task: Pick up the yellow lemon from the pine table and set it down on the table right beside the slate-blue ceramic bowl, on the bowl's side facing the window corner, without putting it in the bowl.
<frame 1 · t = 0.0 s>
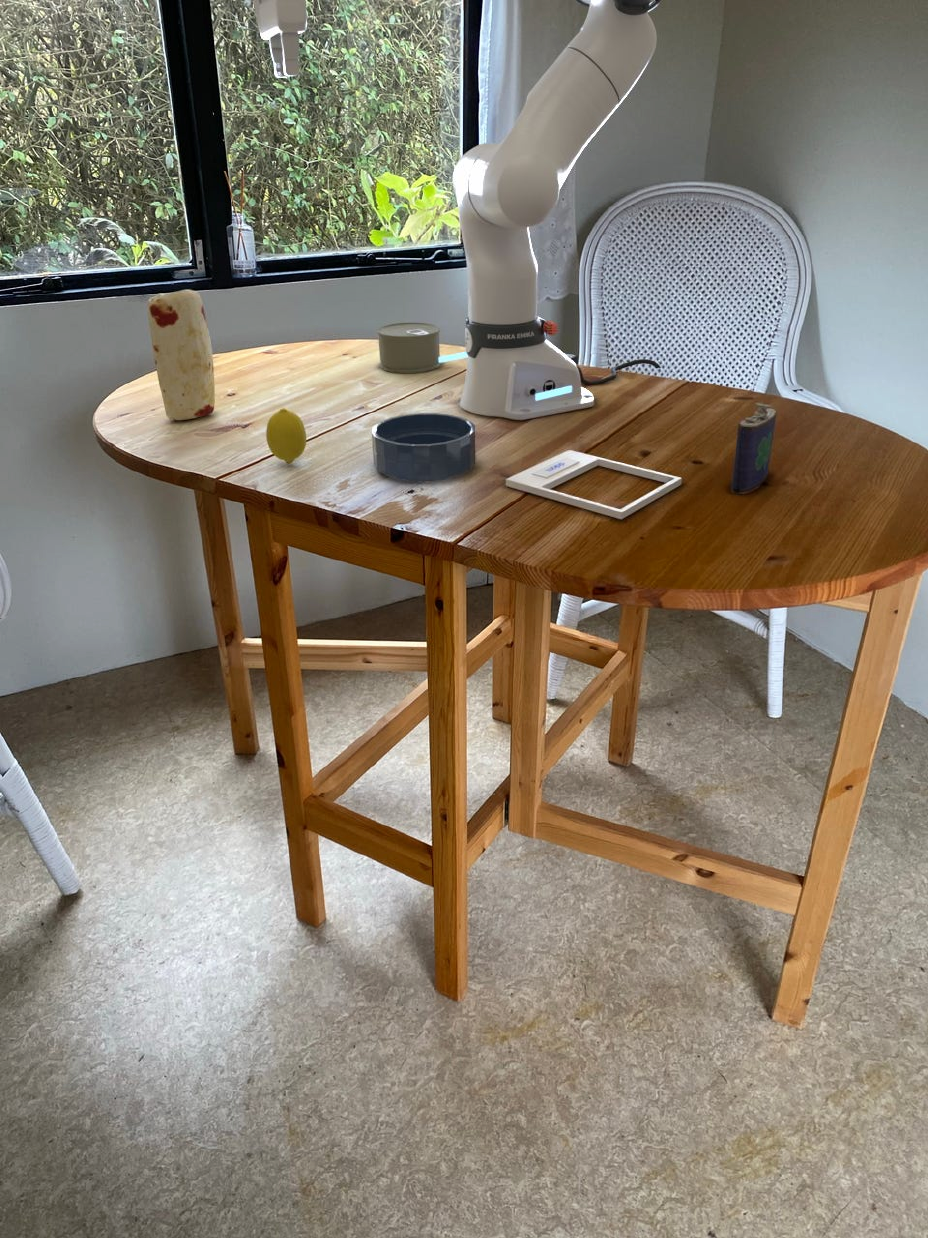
hand: (287, 76, 123), 48 cm above the table, tool pointing down, fingers open, 8 cm apart
photo frame: (593, 486, 122), on the table
flask: (750, 484, 122), on the table
can: (410, 366, 178), on the table
food model: (193, 417, 152), on the table
bowl: (425, 466, 130), on the table
lemon: (289, 464, 132), on the table
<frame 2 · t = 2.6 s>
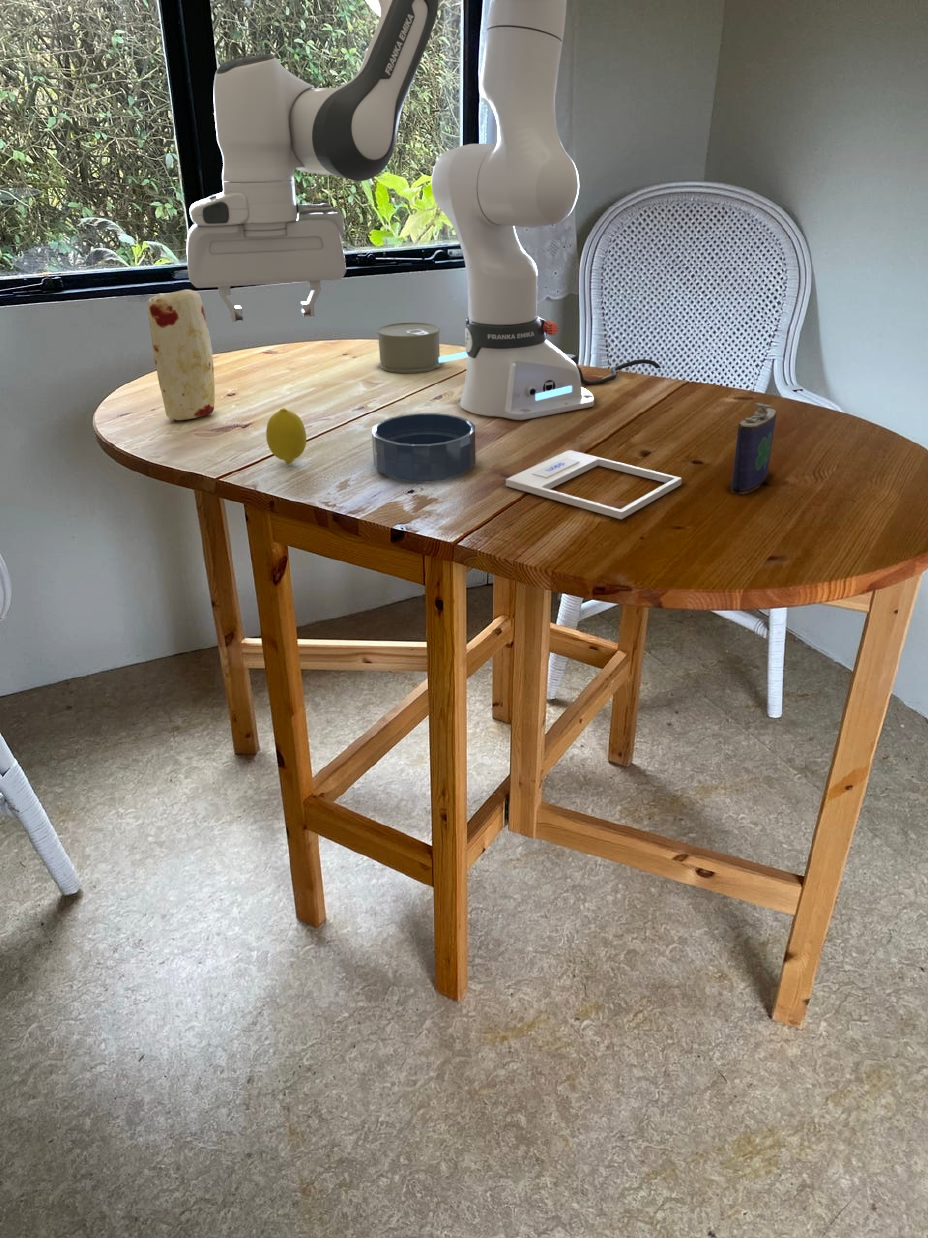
hand: (273, 318, 123), 20 cm above the table, tool pointing down, fingers open, 8 cm apart
nothing on the table moved.
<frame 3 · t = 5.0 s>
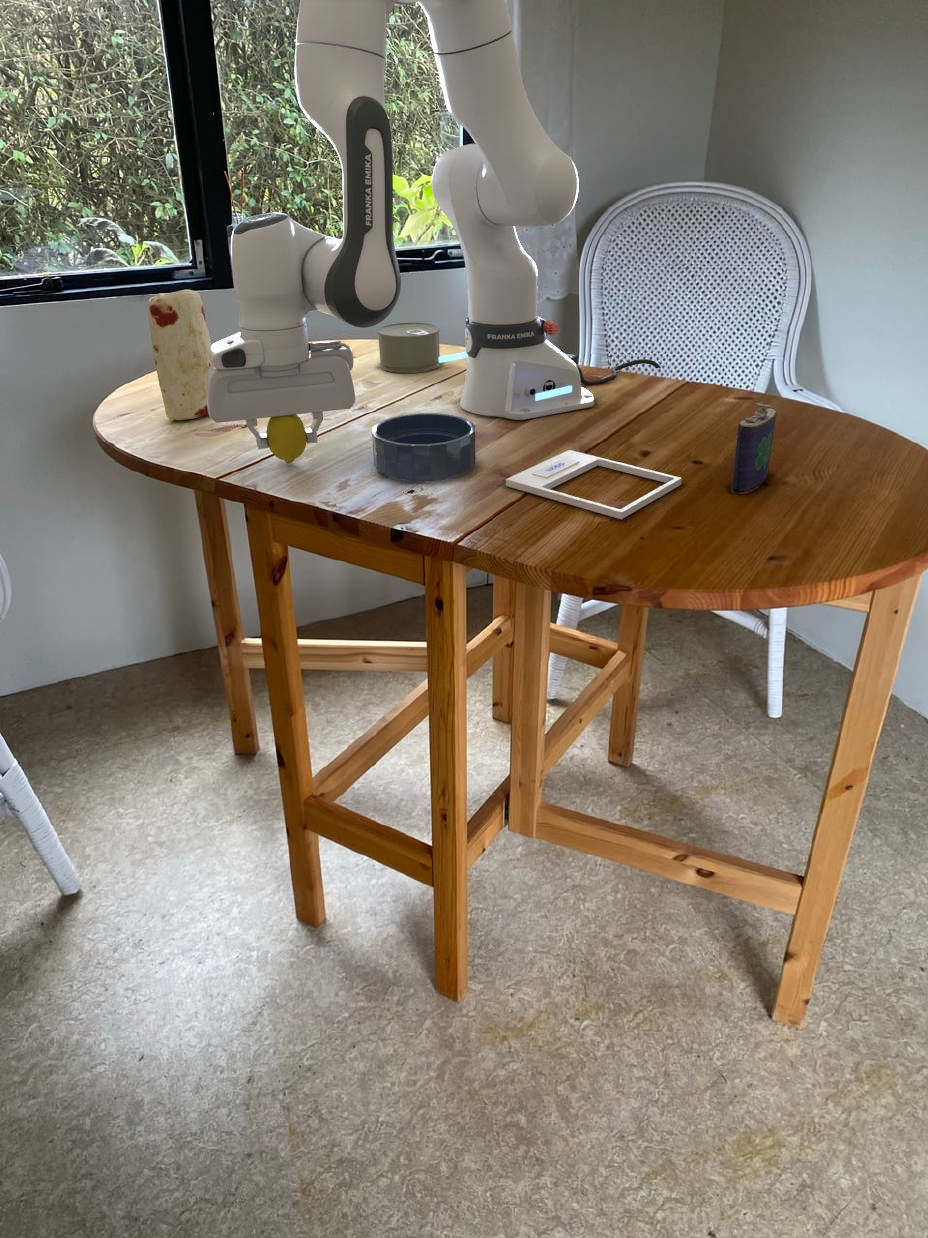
hand: (287, 444, 130), 3 cm above the table, tool pointing down, fingers closed on lemon, 5 cm apart
lemon: (289, 464, 132), on the table, touching gripper
everything else where it was.
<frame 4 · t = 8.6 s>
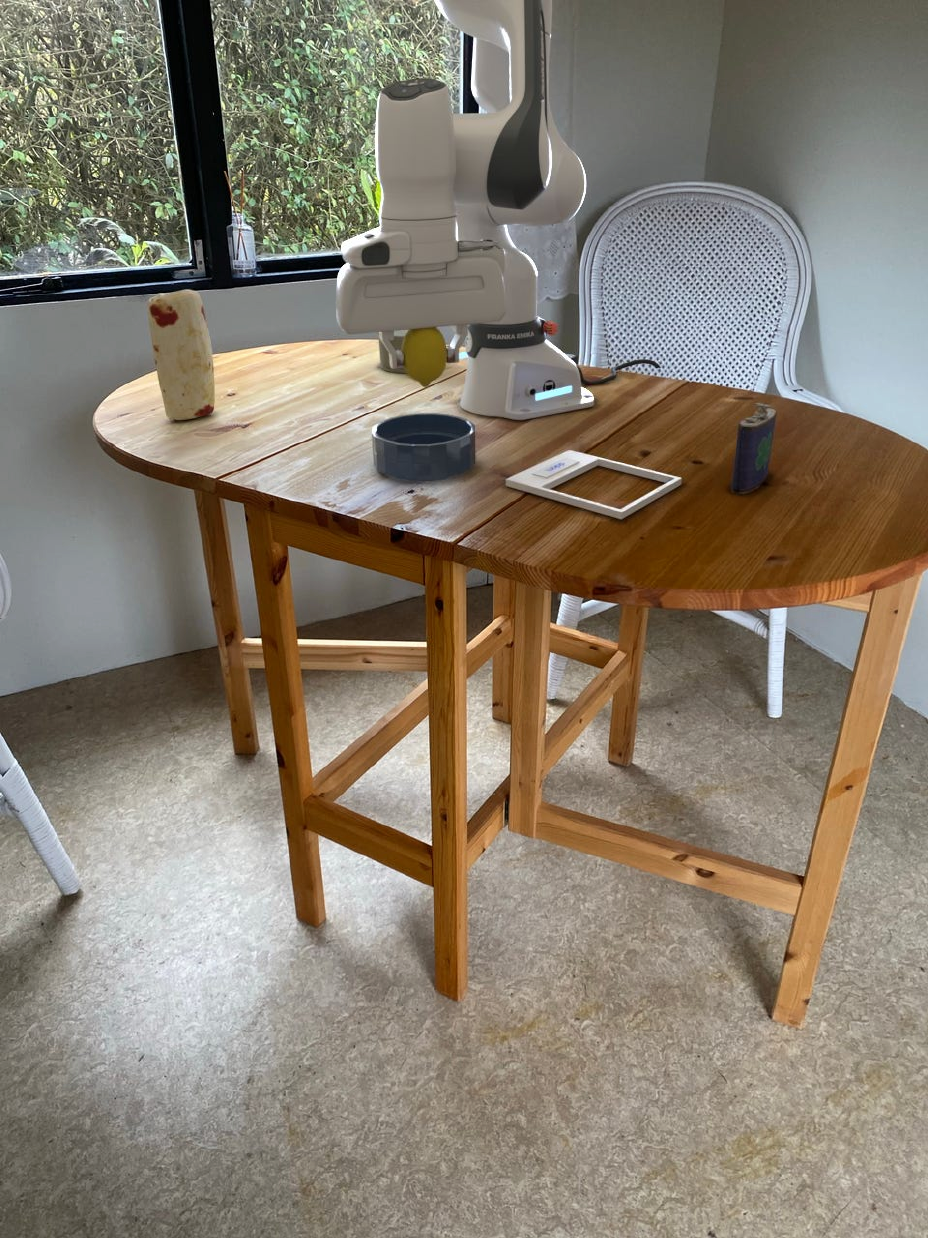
hand: (424, 364, 112), 17 cm above the table, tool pointing down, fingers closed on lemon, 5 cm apart
lemon: (425, 388, 114), point 14 cm above the table, touching gripper
everything else where it was.
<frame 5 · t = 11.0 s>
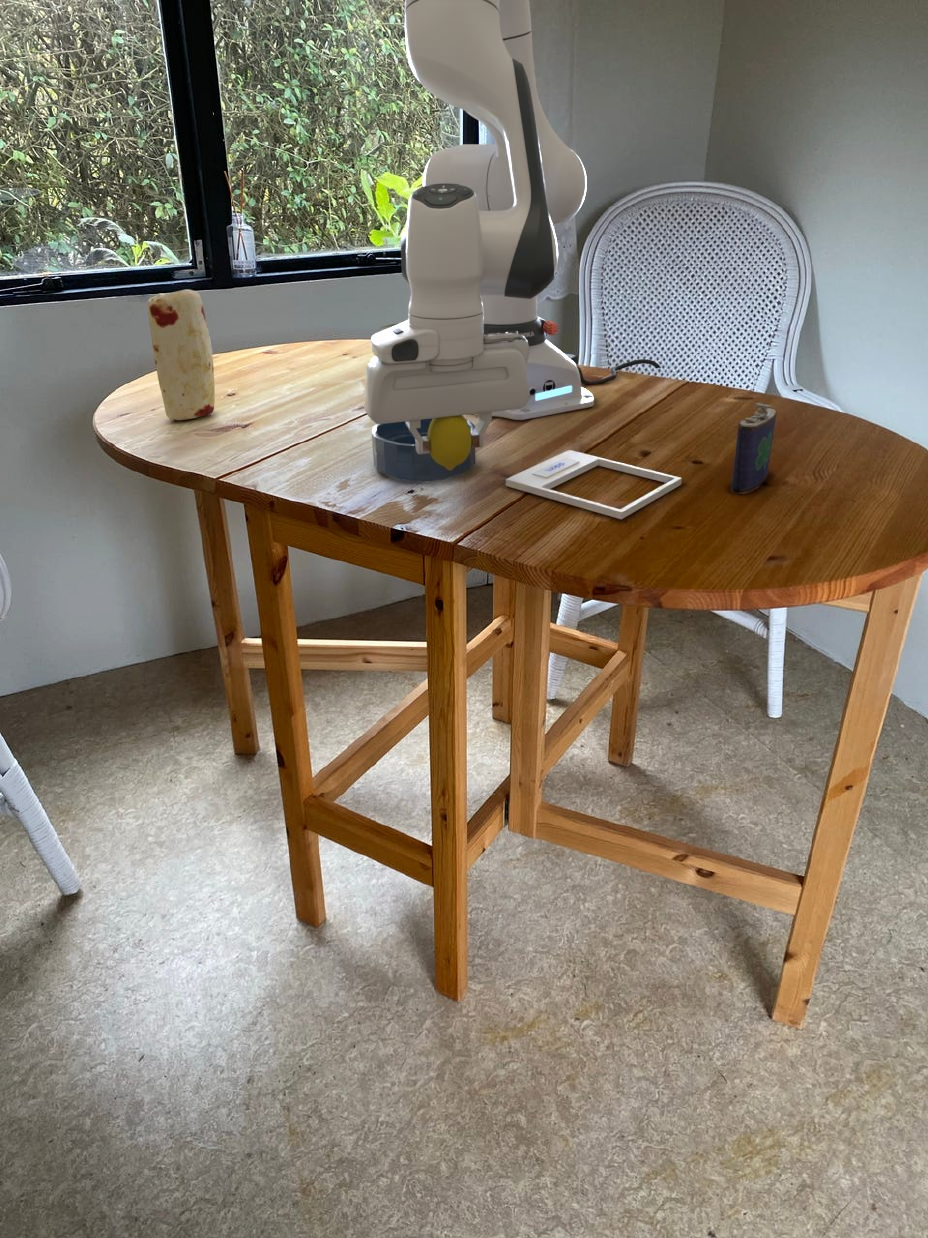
hand: (449, 449, 115), 7 cm above the table, tool pointing down, fingers closed on lemon, 5 cm apart
lemon: (450, 471, 117), point 4 cm above the table, touching gripper
everything else where it was.
when the fingers open (3 cm above the table, at t = 12.6 s): lemon stays where it is, on the table.
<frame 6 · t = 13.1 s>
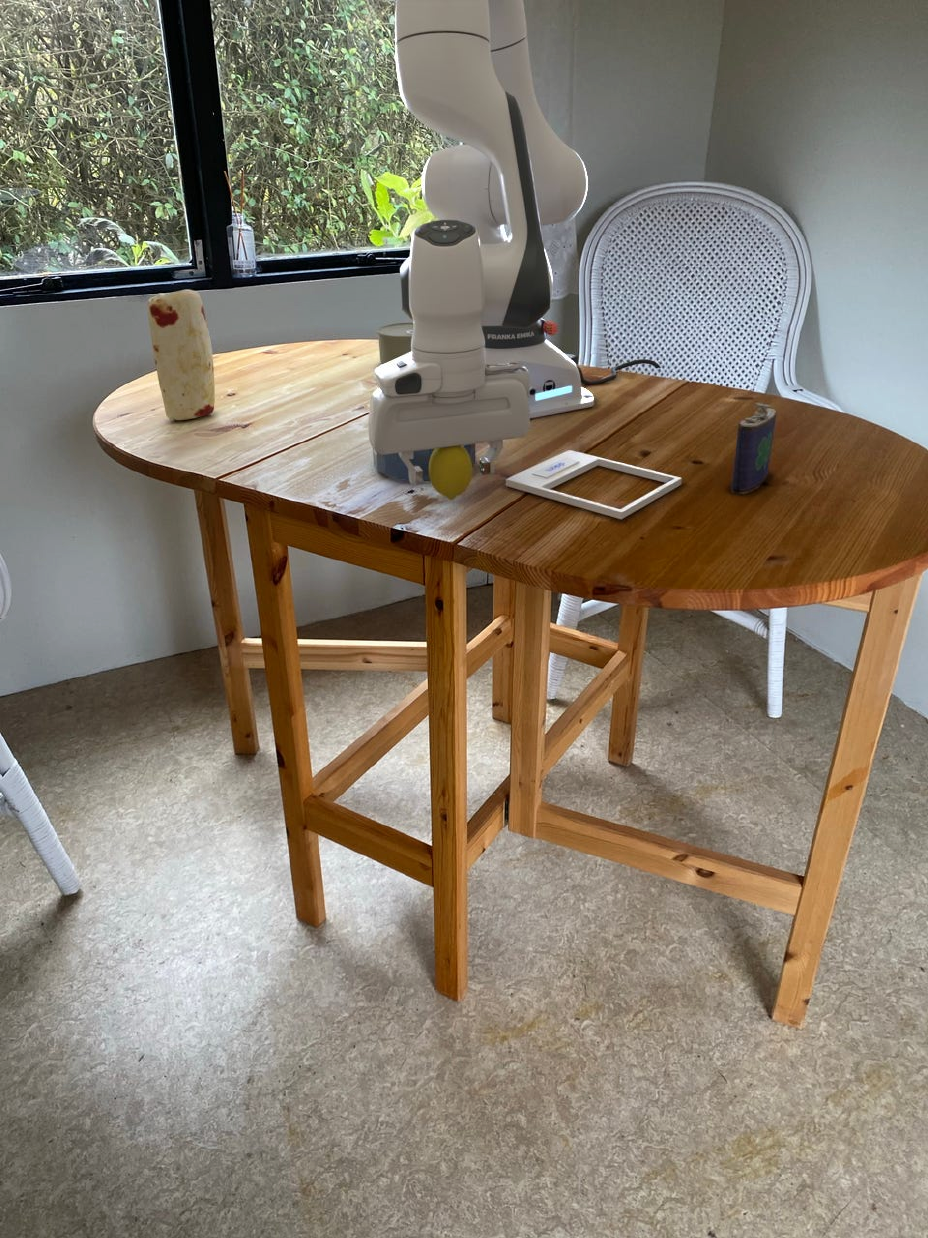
hand: (451, 477, 117), 3 cm above the table, tool pointing down, fingers open, 8 cm apart
lemon: (451, 501, 119), on the table
everything else where it was.
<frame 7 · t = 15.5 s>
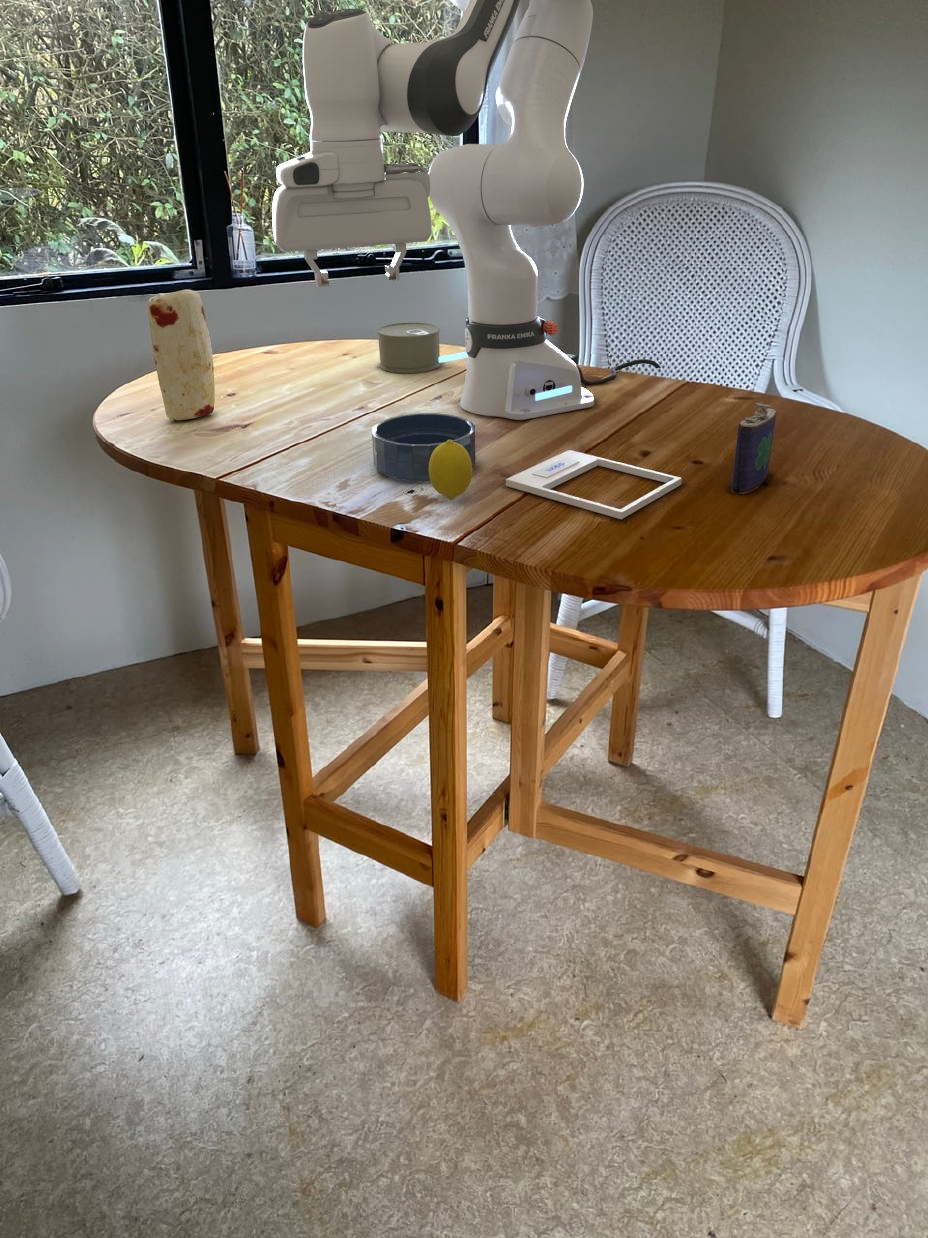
hand: (357, 283, 121), 24 cm above the table, tool pointing down, fingers open, 8 cm apart
nothing on the table moved.
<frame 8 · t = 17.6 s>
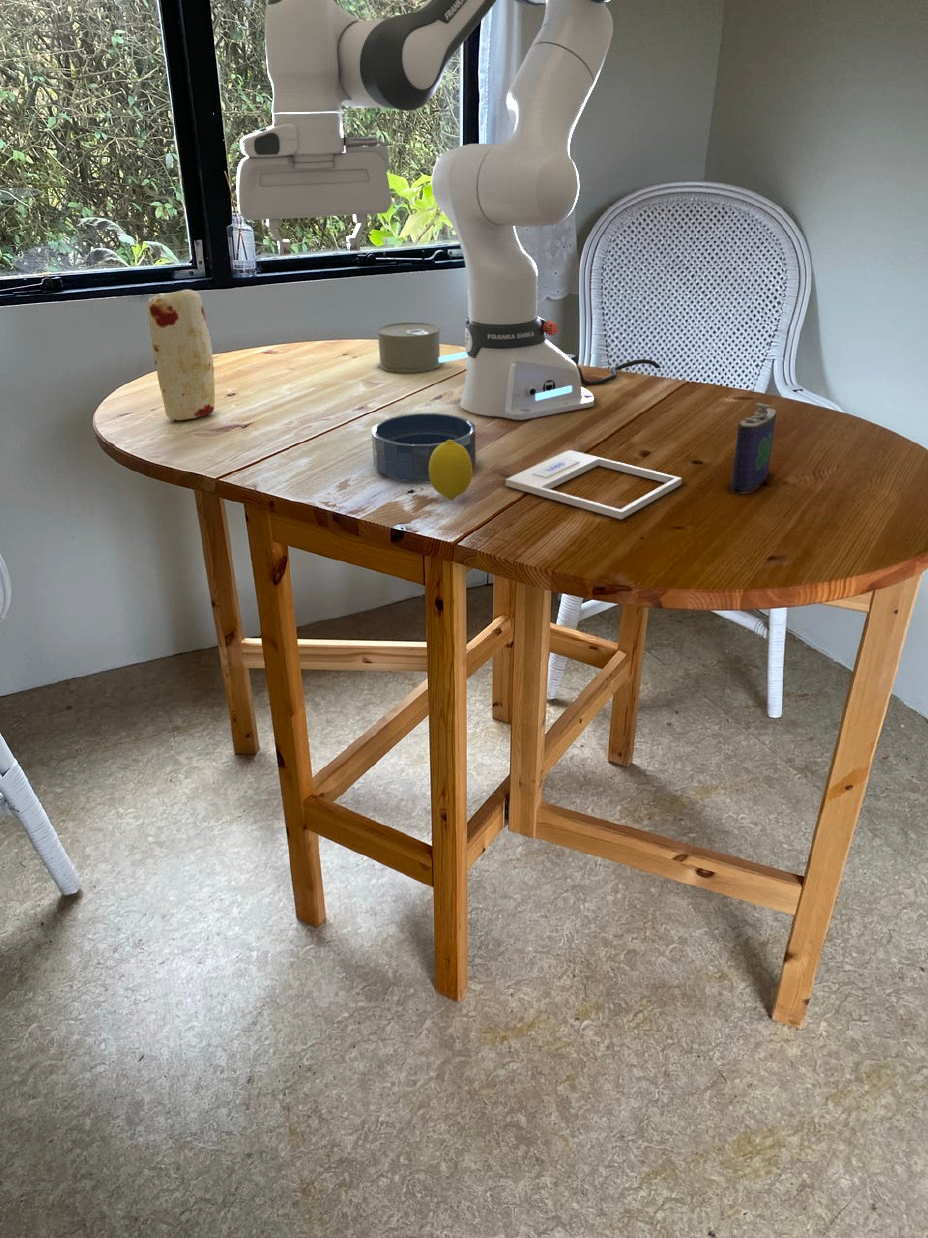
hand: (319, 252, 125), 27 cm above the table, tool pointing down, fingers open, 8 cm apart
nothing on the table moved.
at the end: lemon inside the target area on the table beside the bowl (0.1 cm from its centre), on the table; lemon touching table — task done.
